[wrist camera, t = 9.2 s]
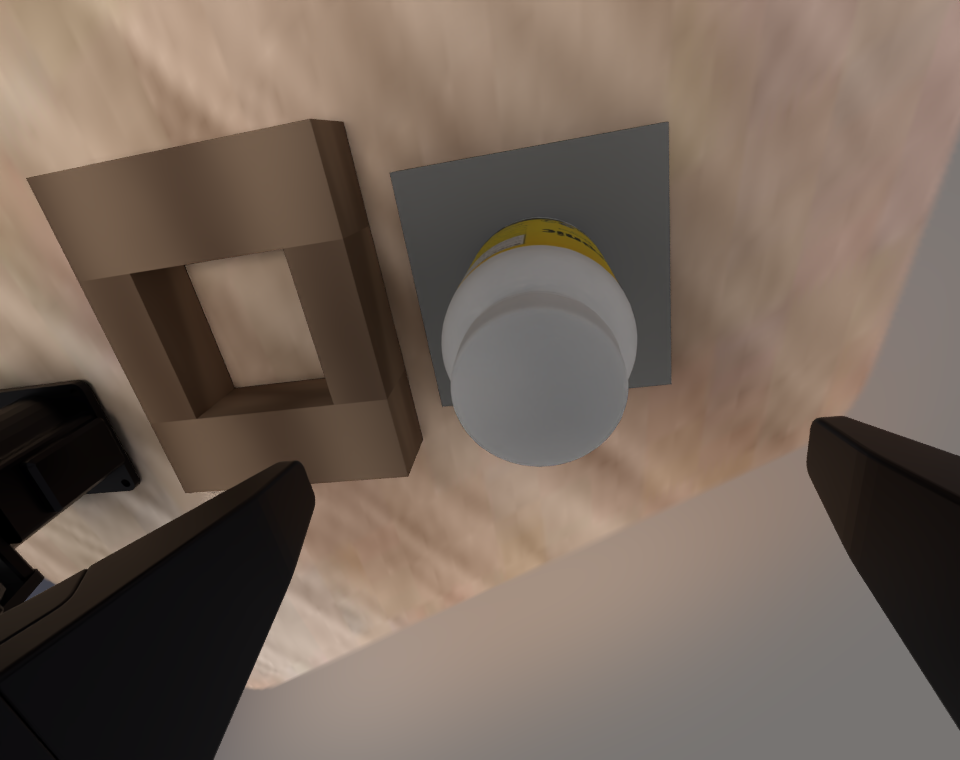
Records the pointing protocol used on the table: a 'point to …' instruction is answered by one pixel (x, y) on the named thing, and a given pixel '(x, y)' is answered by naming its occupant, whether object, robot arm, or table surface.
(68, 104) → the table surface
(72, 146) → the table surface
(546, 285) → the supplement bottle
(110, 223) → the pocket holder
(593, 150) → the coaster
